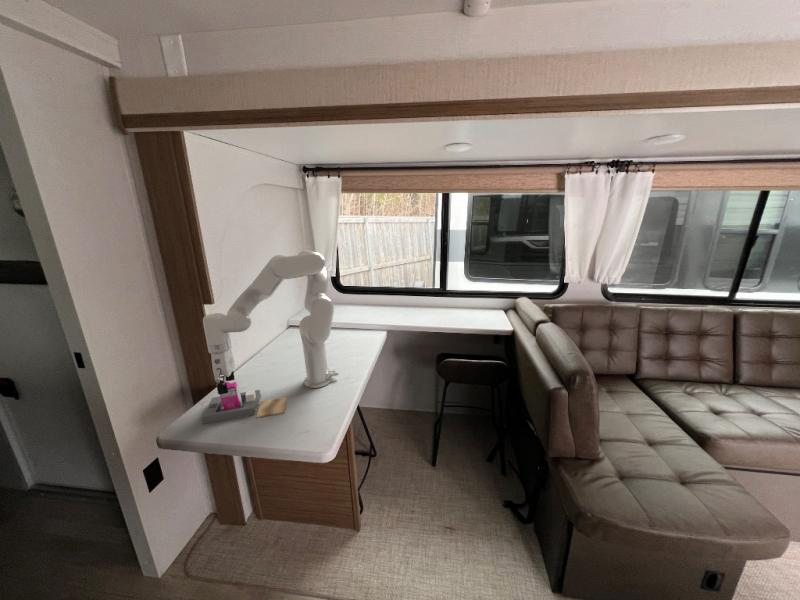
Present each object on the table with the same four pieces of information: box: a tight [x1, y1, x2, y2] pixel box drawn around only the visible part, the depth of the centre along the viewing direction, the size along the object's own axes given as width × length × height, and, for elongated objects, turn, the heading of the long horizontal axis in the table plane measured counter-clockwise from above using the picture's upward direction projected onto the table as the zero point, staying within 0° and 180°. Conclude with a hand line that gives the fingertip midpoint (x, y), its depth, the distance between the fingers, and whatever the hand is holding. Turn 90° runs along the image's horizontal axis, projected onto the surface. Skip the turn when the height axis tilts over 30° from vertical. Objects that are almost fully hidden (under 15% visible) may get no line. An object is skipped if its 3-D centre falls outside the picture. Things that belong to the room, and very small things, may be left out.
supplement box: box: [219, 378, 244, 411], centre depth 116 cm, size 6×6×12 cm
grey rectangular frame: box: [200, 389, 262, 425], centre depth 117 cm, size 18×13×6 cm
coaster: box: [256, 397, 287, 419], centre depth 118 cm, size 10×10×1 cm
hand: (226, 386), depth 115 cm, fingers open, 9 cm apart
